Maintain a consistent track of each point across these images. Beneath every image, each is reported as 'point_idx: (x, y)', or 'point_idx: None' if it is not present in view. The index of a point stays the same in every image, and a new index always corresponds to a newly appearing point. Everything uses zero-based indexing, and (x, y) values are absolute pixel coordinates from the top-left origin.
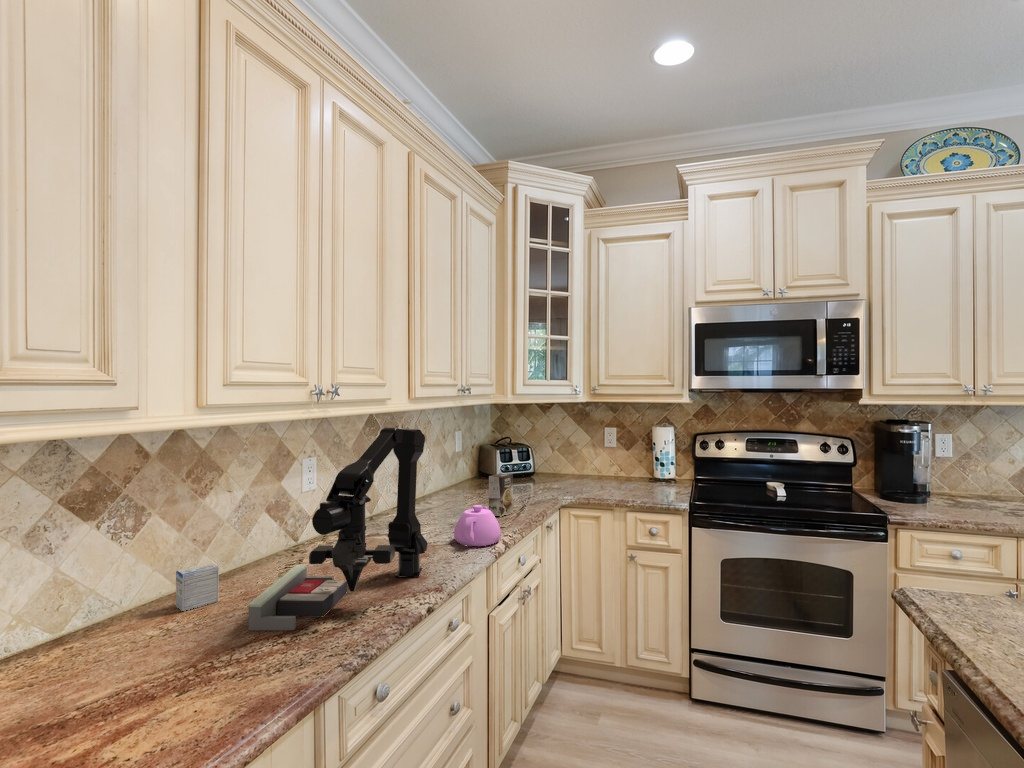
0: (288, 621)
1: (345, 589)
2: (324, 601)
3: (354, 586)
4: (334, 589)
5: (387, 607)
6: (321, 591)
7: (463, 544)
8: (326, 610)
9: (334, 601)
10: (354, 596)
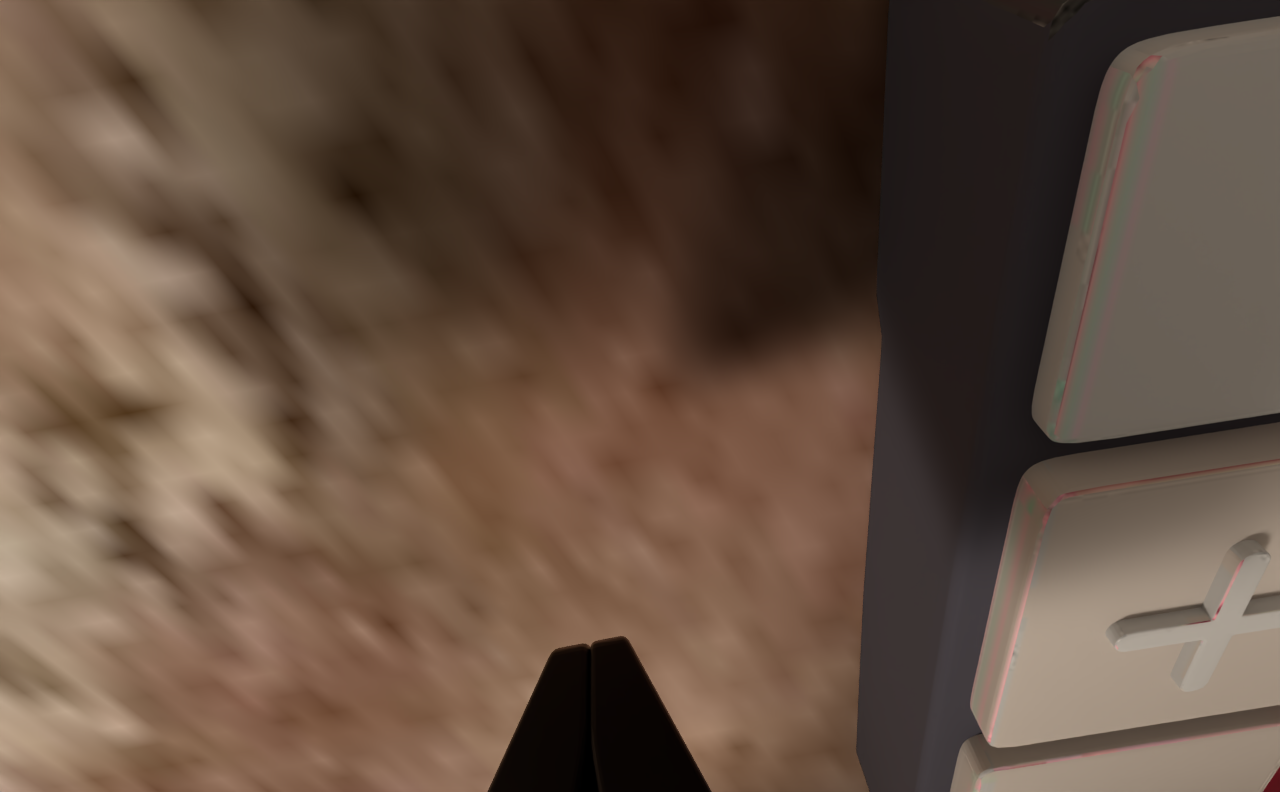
0: None
1: (879, 777)
2: (1064, 20)
3: (522, 745)
4: (1003, 655)
5: (7, 534)
6: (1257, 514)
7: None
8: (917, 90)
9: (898, 461)
10: (720, 702)
